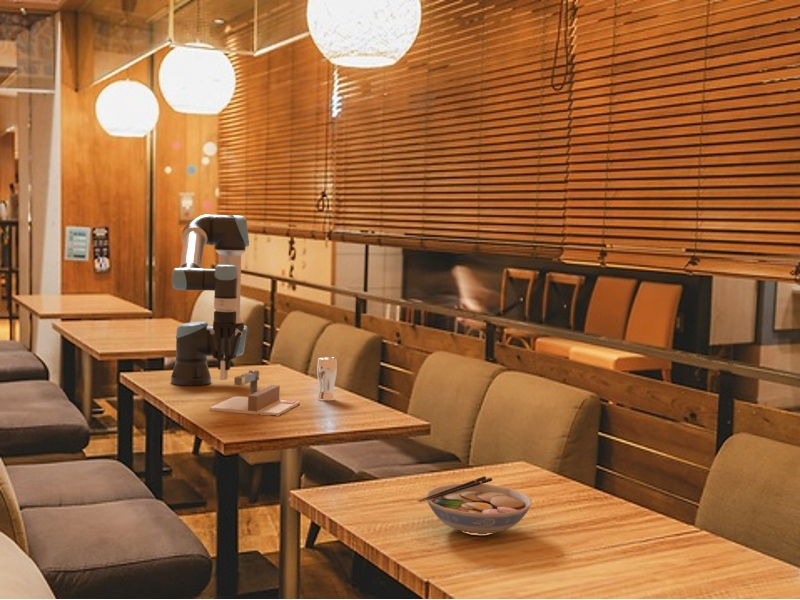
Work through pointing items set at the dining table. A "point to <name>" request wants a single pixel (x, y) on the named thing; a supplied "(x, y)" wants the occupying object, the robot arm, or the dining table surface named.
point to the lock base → (243, 404)
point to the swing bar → (246, 378)
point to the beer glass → (326, 377)
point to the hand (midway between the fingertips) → (223, 379)
